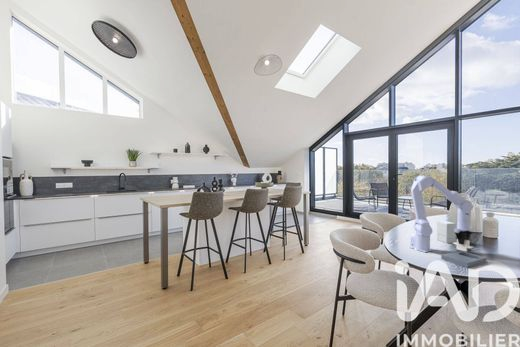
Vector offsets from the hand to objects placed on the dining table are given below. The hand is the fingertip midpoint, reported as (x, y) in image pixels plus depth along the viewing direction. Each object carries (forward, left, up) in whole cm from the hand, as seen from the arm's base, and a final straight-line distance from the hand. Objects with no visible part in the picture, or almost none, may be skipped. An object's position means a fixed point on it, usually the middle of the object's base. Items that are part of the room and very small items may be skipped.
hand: (462, 243), depth 144 cm
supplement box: (-16, +13, -5) cm, 21 cm away
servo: (0, 0, -4) cm, 4 cm away
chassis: (+8, -15, -5) cm, 18 cm away
